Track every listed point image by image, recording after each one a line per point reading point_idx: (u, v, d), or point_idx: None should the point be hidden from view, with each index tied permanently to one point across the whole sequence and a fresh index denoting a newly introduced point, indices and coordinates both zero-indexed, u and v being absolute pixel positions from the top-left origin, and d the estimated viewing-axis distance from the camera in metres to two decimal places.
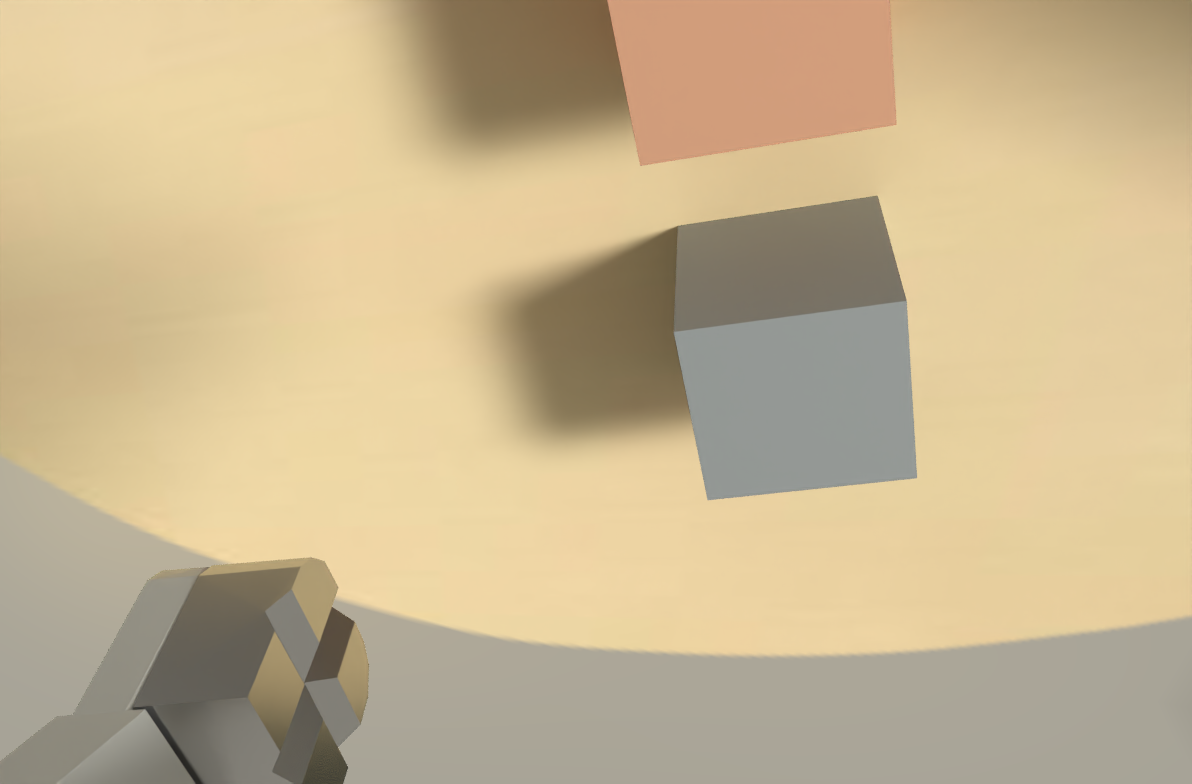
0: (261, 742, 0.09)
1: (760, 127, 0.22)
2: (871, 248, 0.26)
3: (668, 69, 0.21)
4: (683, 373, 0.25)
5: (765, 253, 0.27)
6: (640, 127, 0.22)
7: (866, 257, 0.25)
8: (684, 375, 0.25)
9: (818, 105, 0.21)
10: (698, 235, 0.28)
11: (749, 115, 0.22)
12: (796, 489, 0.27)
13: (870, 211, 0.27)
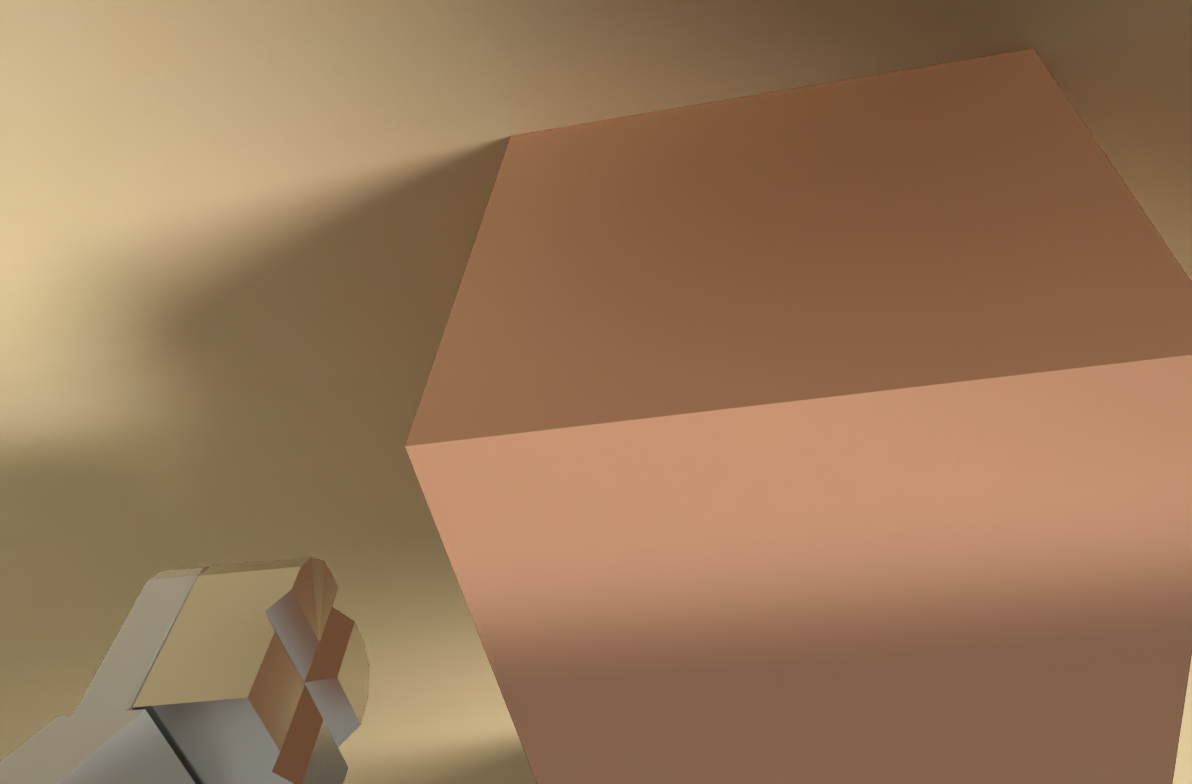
0: (262, 742, 0.09)
1: None
2: None
3: (629, 739, 0.09)
4: None
5: None
6: None
7: None
8: None
9: None
10: None
11: None
12: None
13: None
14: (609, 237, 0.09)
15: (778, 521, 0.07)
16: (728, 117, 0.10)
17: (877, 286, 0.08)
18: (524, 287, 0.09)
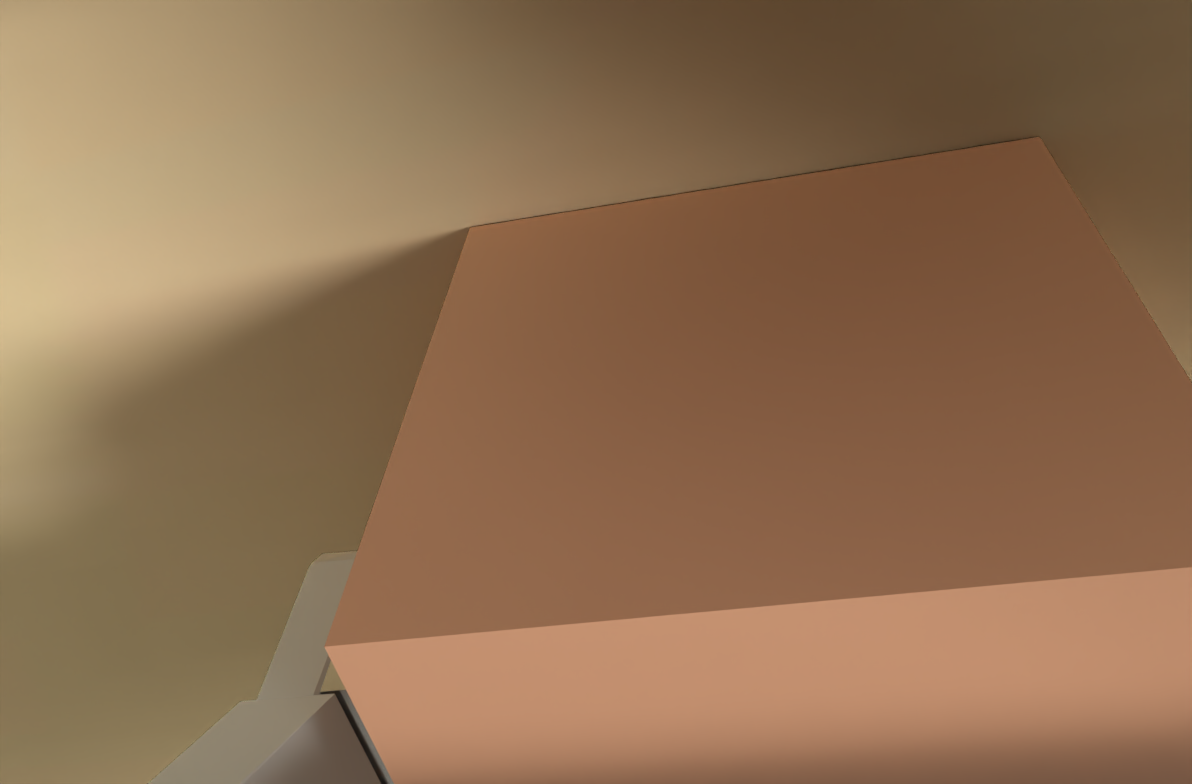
0: None
1: None
2: None
3: None
4: None
5: None
6: None
7: None
8: None
9: None
10: None
11: None
12: None
13: None
14: (569, 366, 0.08)
15: (760, 728, 0.06)
16: (707, 218, 0.09)
17: (873, 447, 0.07)
18: (474, 430, 0.08)
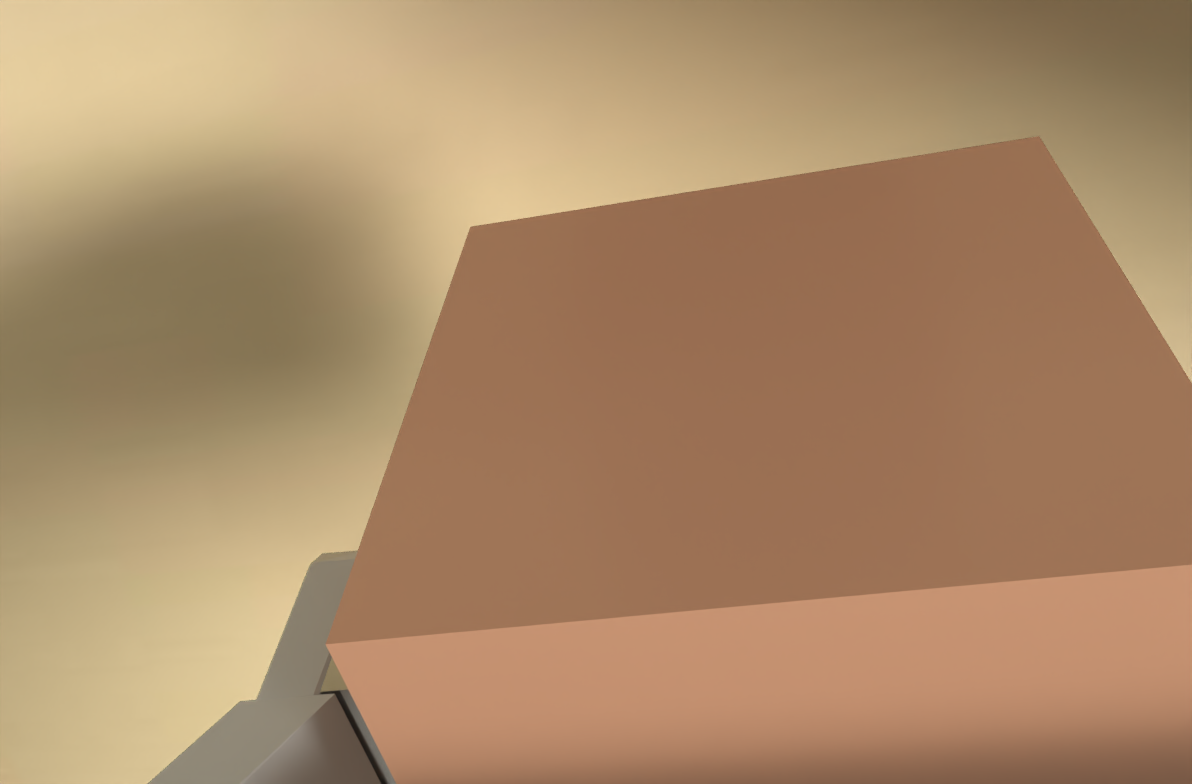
0: None
1: None
2: None
3: None
4: None
5: None
6: None
7: None
8: None
9: None
10: None
11: None
12: None
13: None
14: (570, 366, 0.08)
15: (760, 725, 0.06)
16: (706, 217, 0.09)
17: (870, 447, 0.07)
18: (473, 428, 0.08)
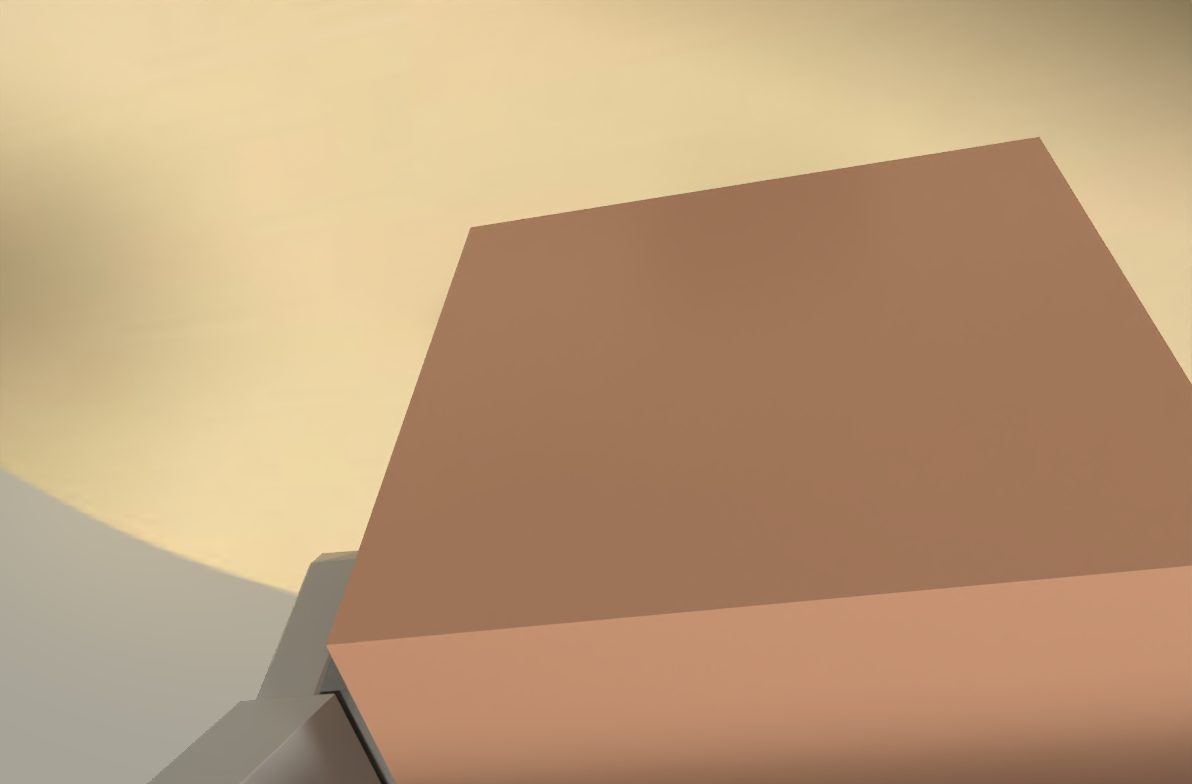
0: None
1: None
2: None
3: None
4: None
5: None
6: None
7: None
8: None
9: None
10: None
11: None
12: None
13: None
14: (570, 366, 0.08)
15: (758, 727, 0.06)
16: (706, 217, 0.09)
17: (871, 447, 0.07)
18: (474, 429, 0.08)
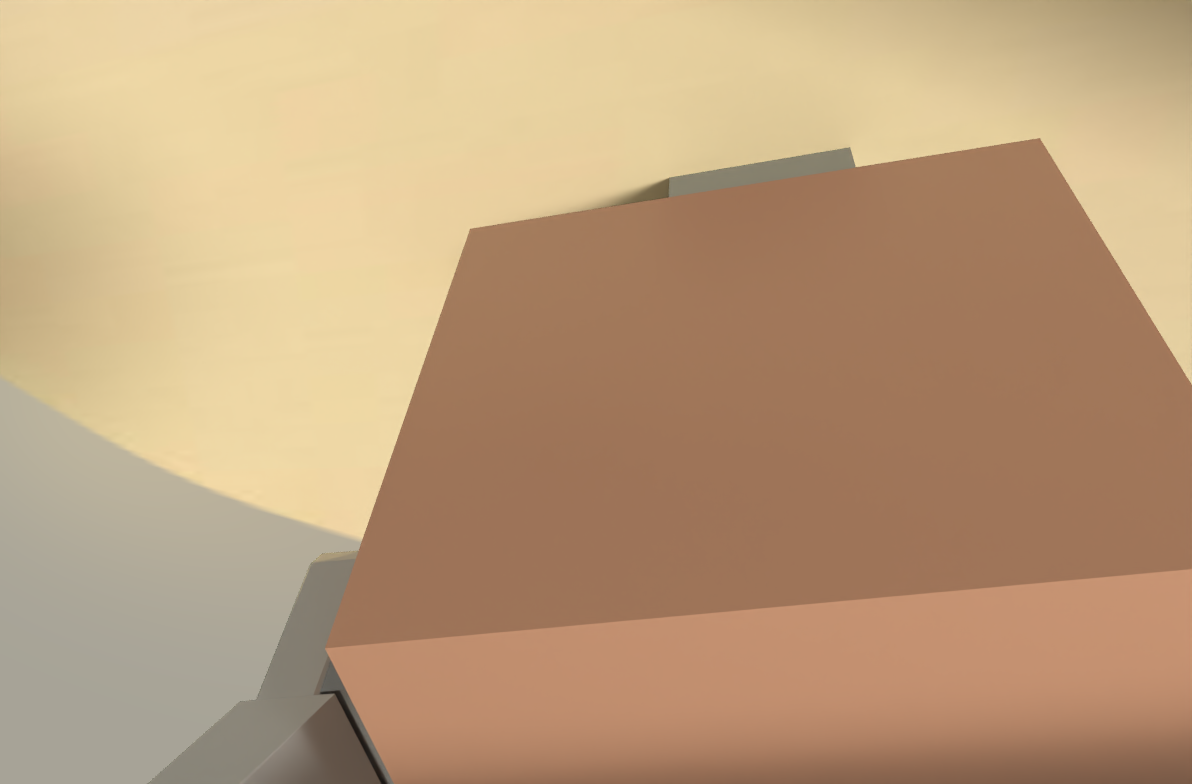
0: None
1: None
2: None
3: None
4: None
5: None
6: None
7: None
8: None
9: None
10: (688, 185, 0.31)
11: None
12: None
13: (843, 160, 0.30)
14: (569, 368, 0.08)
15: (760, 729, 0.06)
16: (707, 219, 0.09)
17: (872, 450, 0.07)
18: (474, 431, 0.08)
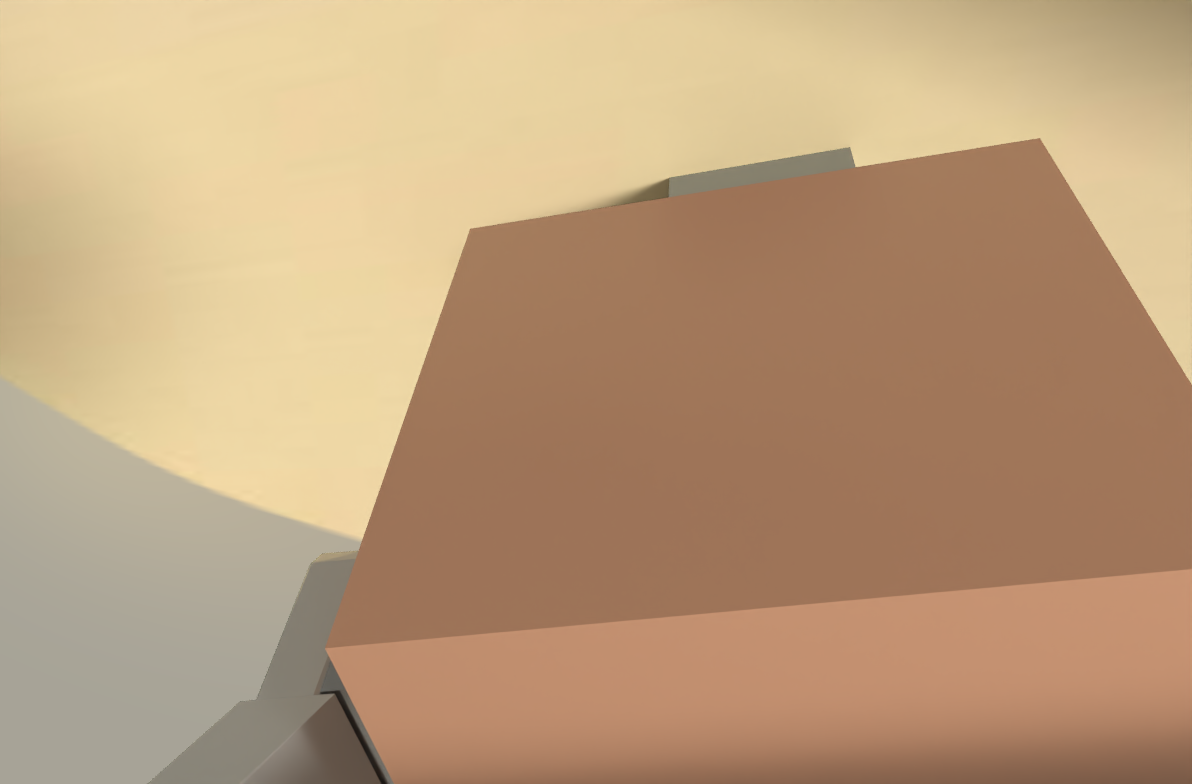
0: None
1: None
2: None
3: None
4: None
5: None
6: None
7: None
8: None
9: None
10: (688, 185, 0.31)
11: None
12: None
13: (843, 160, 0.30)
14: (569, 368, 0.08)
15: (760, 729, 0.06)
16: (707, 219, 0.09)
17: (872, 450, 0.07)
18: (474, 431, 0.08)
